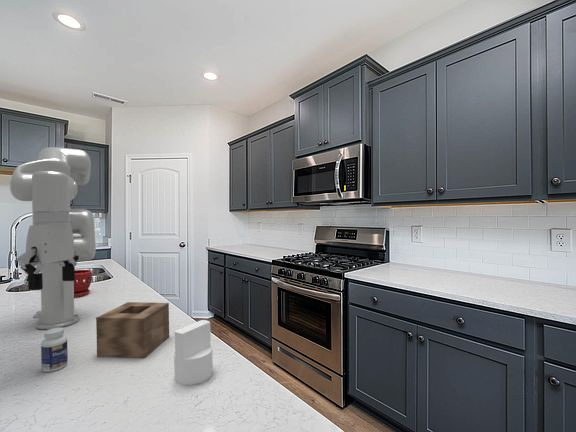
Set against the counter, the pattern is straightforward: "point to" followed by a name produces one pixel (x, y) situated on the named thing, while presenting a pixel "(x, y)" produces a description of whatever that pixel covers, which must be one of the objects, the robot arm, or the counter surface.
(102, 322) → the socket block
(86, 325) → the counter surface
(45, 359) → the pill bottle
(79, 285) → the plant pot
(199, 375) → the cylinder with rectangular tab
